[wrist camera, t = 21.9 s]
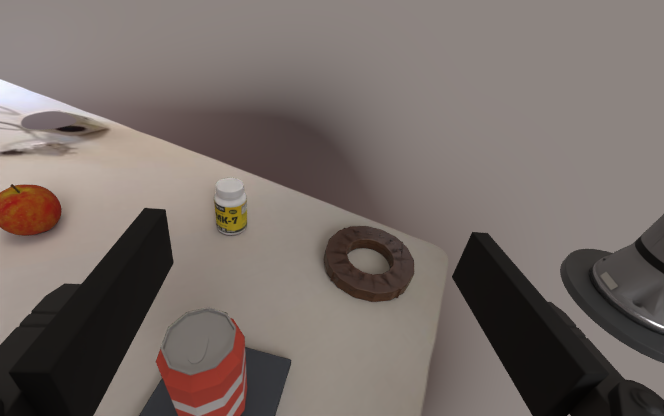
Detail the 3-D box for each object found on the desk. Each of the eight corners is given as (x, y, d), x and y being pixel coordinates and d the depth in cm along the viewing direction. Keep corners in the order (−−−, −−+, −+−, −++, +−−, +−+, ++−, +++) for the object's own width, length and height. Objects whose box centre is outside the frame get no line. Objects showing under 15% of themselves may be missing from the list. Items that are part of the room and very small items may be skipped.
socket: (410, 245, 54) (413, 237, 53) (410, 312, 43) (414, 303, 42) (333, 227, 55) (335, 218, 54) (315, 287, 44) (317, 278, 43)
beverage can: (170, 443, 28) (138, 383, 20) (190, 369, 33) (170, 300, 25) (240, 440, 28) (234, 382, 21) (250, 368, 33) (247, 301, 26)
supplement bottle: (211, 232, 50) (206, 189, 45) (224, 214, 54) (220, 173, 48) (241, 238, 50) (239, 196, 45) (251, 220, 53) (250, 179, 48)
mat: (290, 363, 35) (291, 359, 35) (247, 504, 26) (247, 501, 25) (191, 336, 36) (190, 331, 36) (114, 462, 27) (111, 459, 26)
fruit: (24, 213, 47) (-3, 168, 42) (77, 213, 49) (57, 170, 44) (-6, 246, 42) (-41, 199, 37) (54, 245, 44) (29, 199, 39)
